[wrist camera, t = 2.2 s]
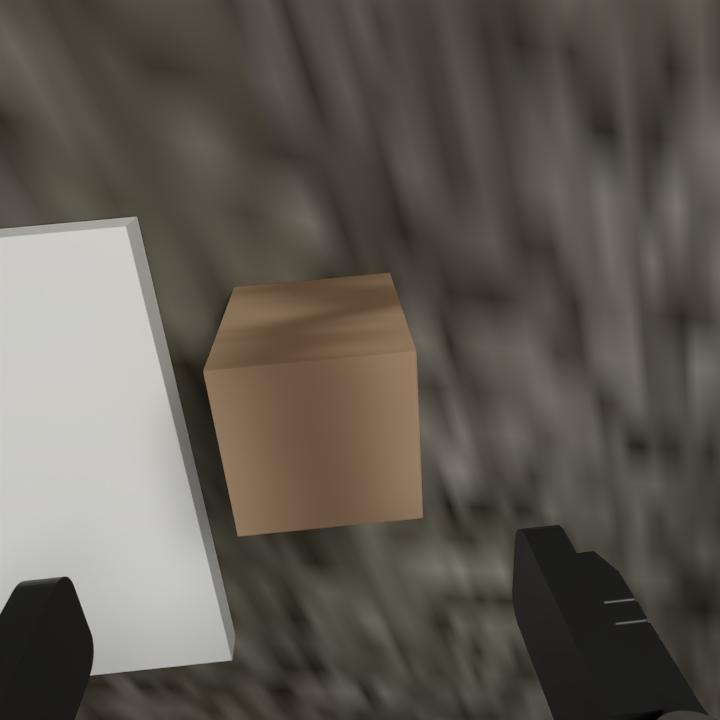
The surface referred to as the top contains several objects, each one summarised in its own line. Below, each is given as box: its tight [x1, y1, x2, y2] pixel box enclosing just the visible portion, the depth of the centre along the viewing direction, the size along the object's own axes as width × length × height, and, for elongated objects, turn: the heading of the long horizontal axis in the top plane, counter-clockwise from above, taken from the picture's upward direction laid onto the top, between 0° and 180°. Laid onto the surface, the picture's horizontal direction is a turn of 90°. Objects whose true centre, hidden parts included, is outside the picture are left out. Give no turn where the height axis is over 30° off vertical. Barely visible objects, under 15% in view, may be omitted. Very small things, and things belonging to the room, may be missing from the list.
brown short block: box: [203, 273, 423, 536], centre depth 18 cm, size 5×5×6 cm
